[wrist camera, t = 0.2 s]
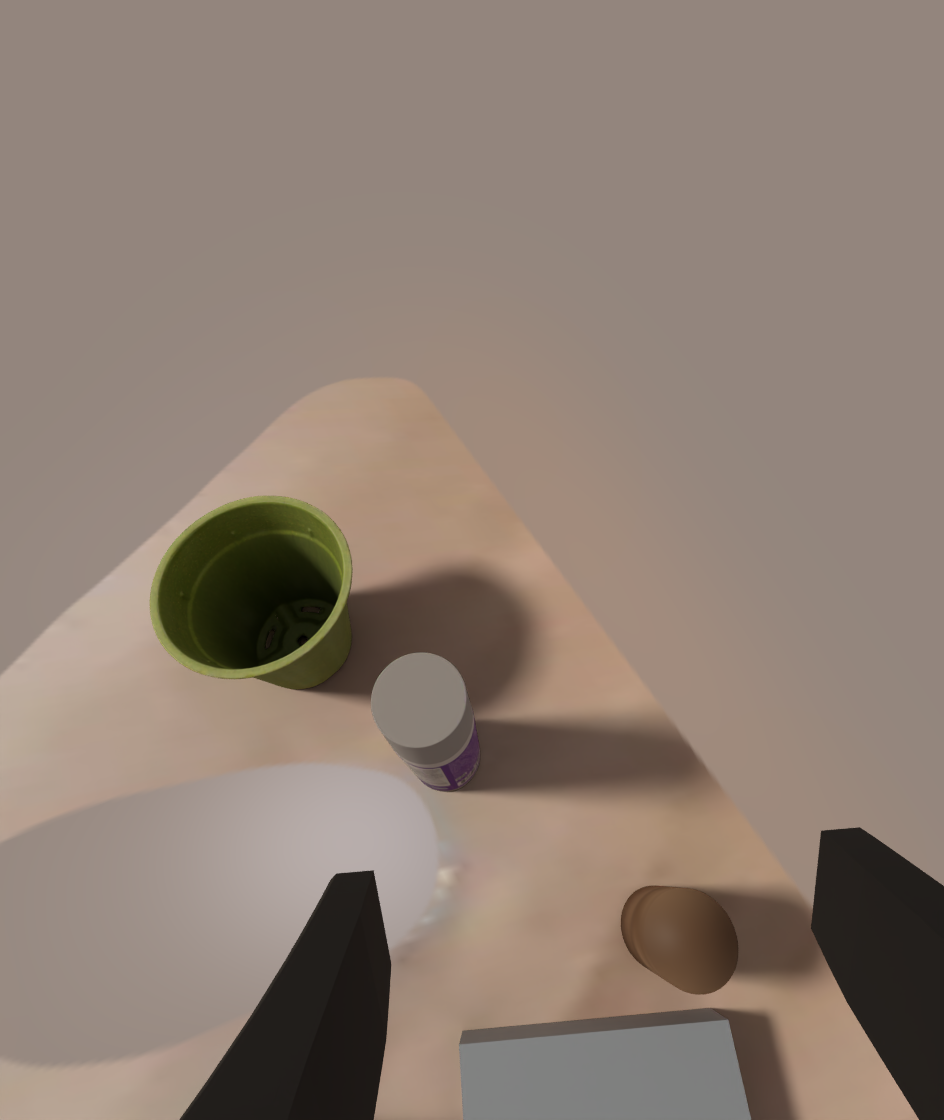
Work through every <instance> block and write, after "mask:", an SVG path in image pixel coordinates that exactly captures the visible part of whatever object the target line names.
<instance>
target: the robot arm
mask: <svg viewBox="0 0 944 1120" xmlns="http://www.w3.org/2000/svg"><path fill="white" fill-rule="evenodd" d="M811 929H812V931H813V933H814V935H815V938H816V940H817V942H818V944H819V946H820V948H821V950H822V952H823V955H824V957H825V959H826V961H827V963H828V965H829V967H830V969H831V971H832V973H833V975H834V977H835V979H836V981H837V983H838V985H839V987H840V989H841V991H842V993H843V995H844V997H845V999H846V1001H847V1003H848V1005H849V1006H850V1008H851V1010H852V1011H853V1013H854V1015H855V1016H856V1018H857V1020H858V1021H859V1023H860V1024H861V1026H862V1028H863V1029H864V1031H865V1033H866V1034H867V1036H868V1038H869V1039H870V1041H871V1042H872V1044H873V1046H874V1047H875V1049H876V1051H877V1052H878V1054H879V1056H880V1057H881V1059H882V1060H883V1062H884V1064H885V1065H886V1067H887V1069H888V1070H889V1072H890V1073H891V1075H892V1077H893V1078H894V1080H895V1081H896V1083H897V1085H898V1086H899V1088H900V1090H901V1091H902V1093H903V1094H904V1096H905V1098H906V1099H907V1101H908V1102H909V1104H910V1106H911V1107H912V1109H913V1110H914V1112H915V1114H916V1115H917V1117H918V1119H919V1120H944V886H943V885H942V884H940V883H939V882H937V881H936V880H934V879H933V878H932V877H930V876H929V875H927V874H926V873H925V872H923V871H922V870H920V869H919V868H918V867H916V866H915V865H913V864H912V863H910V862H909V861H908V860H906V859H905V858H903V857H902V856H901V855H899V854H898V853H896V852H895V851H893V850H892V849H890V848H889V847H888V846H886V845H885V844H883V843H882V842H881V841H879V840H878V839H876V838H875V837H873V836H872V835H870V834H869V833H867V832H866V831H864V830H863V829H861V828H848V829H836V830H825V831H821V839H820V848H819V857H818V867H817V876H816V885H815V895H814V905H813V914H812V924H811ZM390 977H391V960H390V955H389V949H388V944H387V939H386V934H385V928H384V923H383V918H382V913H381V907H380V902H379V897H378V891H377V886H376V881H375V876H374V871H362V872H351V873H339V874H336V875H335V876H334V877H333V878H332V879H331V880H330V882H329V884H328V886H327V888H326V890H325V891H324V893H323V895H322V897H321V899H320V901H319V903H318V904H317V906H316V908H315V910H314V912H313V913H312V915H311V917H310V919H309V920H308V922H307V924H306V926H305V928H304V929H303V931H302V933H301V934H300V936H299V938H298V940H297V942H296V943H295V945H294V946H293V948H292V950H291V952H290V953H289V955H288V957H287V959H286V961H285V962H284V963H283V965H282V967H281V968H280V970H279V972H278V973H277V975H276V976H275V978H274V980H273V981H272V983H271V984H270V986H269V988H268V989H267V991H266V993H265V994H264V996H263V997H262V999H261V1001H260V1002H259V1004H258V1006H257V1007H256V1009H255V1010H254V1012H253V1013H252V1015H251V1016H250V1018H249V1019H248V1021H247V1023H246V1024H245V1026H244V1027H243V1029H242V1030H241V1032H240V1033H239V1035H238V1036H237V1037H236V1039H235V1040H234V1042H233V1043H232V1045H231V1046H230V1048H229V1049H228V1051H227V1052H226V1054H225V1055H224V1057H223V1058H222V1060H221V1061H220V1063H219V1064H218V1066H217V1067H216V1069H215V1070H214V1071H213V1073H212V1074H211V1076H210V1077H209V1079H208V1080H207V1082H206V1083H205V1085H204V1086H203V1088H202V1089H201V1090H200V1092H199V1093H198V1095H197V1096H196V1097H195V1099H194V1100H193V1102H192V1103H191V1104H190V1106H189V1107H188V1109H187V1110H186V1111H185V1113H184V1114H183V1115H182V1117H181V1118H180V1120H374V1114H375V1108H376V1101H377V1095H378V1089H379V1082H380V1076H381V1070H382V1064H383V1057H384V1051H385V1044H386V1035H387V1022H388V1008H389V993H390Z"/></svg>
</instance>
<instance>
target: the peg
mask: <svg viewBox="0 0 944 1120" xmlns="http://www.w3.org/2000/svg"><path fill="white" fill-rule="evenodd" d="M621 931H622V935H623V939H624V942H625V944H626V946H627V948H628V950H629V951H630V953H631V954H632V956H633V957H634V958H635V959H636V960H637V961H638V962H639V963H640V964H641V965H643V966H644V967H646V968H647V969H649V970H650V971H652V972H653V973H655V974H657V975H658V976H660V977H661V978H663V979H664V980H666V981H667V982H669V983H670V984H672V985H673V986H675V987H677V988H678V989H680V990H682V991H685V992H688V993H691V994H709V993H712V992H715V991H717V990H718V989H720V988H722V987H723V986H724V985H725V984H726V983H727V982H728V981H729V979H730V978H731V976H732V975H733V973H734V970H735V968H736V964H737V959H738V941H737V936H736V932H735V929H734V927H733V924H732V922H731V920H730V918H729V916H728V915H727V913H726V912H725V911H724V909H723V908H722V907H721V906H720V905H719V904H718V903H717V902H716V901H715V900H714V899H712V898H711V897H710V896H708V895H706V894H705V893H703V892H700V891H698V890H694V889H688V888H677V887H664V886H646V887H643V888H640V889H638V890H637V891H635V892H634V893H633V894H632V895H631V896H630V897H629V898H628V900H627V901H626V903H625V905H624V908H623V911H622V915H621Z"/></svg>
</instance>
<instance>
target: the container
mask: <svg viewBox="0 0 944 1120" xmlns="http://www.w3.org/2000/svg"><path fill="white" fill-rule="evenodd" d="M371 710H372V715H373V718H374V721H375V723H376V725H377V727H378V728H379V730H380V731H381V732H382V734H383V735H384V737H385V738H386V739H387V741H388V742H389V744H390V745H391V747H392V748H393V750H394V751H395V752H396V754H397V755H398V756H399V757H400V758H401V759H402V760H403V761H404V762H405V764H406V765H407V766H408V767H409V768H410V769H411V770H412V771H413V772H414V774H415V775H416V776H417V777H418V778H419V779H420V780H421V781H422V782H423V783H424V784H425V785H427V786H428V787H430V788H432V789H434V790H437V791H444V792H447V791H454V790H457V789H459V788H461V787H463V786H464V785H466V784H467V783H468V782H469V781H470V780H471V779H472V778H473V776H474V775H475V773H476V771H477V769H478V766H479V762H480V747H479V741H478V736H477V730H476V724H475V719H474V713H473V709H472V706H471V703H470V700H469V696H468V693H467V689H466V686H465V683H464V680H463V678H462V676H461V674H460V672H459V671H458V670H457V668H456V667H455V666H454V665H453V664H452V663H450V662H449V661H448V660H446V659H445V658H443V657H441V656H438V655H436V654H432V653H426V652H418V653H411V654H407V655H404V656H402V657H400V658H398V659H396V660H394V661H393V662H392V663H390V664H389V665H388V666H387V667H386V668H385V669H384V670H383V671H382V672H381V674H380V675H379V677H378V678H377V680H376V682H375V685H374V687H373V691H372V696H371Z"/></svg>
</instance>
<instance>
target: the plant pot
mask: <svg viewBox="0 0 944 1120" xmlns="http://www.w3.org/2000/svg"><path fill="white" fill-rule="evenodd" d="M351 583H352V560H351V554H350V550H349V547H348V544H347V541H346V539H345V537H344V535H343V533H342V532H341V530H340V529H339V527H338V526H337V525H336V524H335V522H334V521H333V520H332V519H331V518H330V517H329V516H327V515H326V514H325V513H324V512H322V511H321V510H319V509H318V508H316V507H314V506H312V505H310V504H308V503H306V502H303V501H300V500H297V499H293V498H289V497H282V496H255V497H249V498H244V499H240V500H237V501H234V502H231V503H228V504H225V505H223V506H221V507H219V508H217V509H215V510H213V511H211V512H209V513H207V514H206V515H204V516H203V517H201V518H200V519H198V520H197V521H195V522H194V523H193V524H191V525H190V526H189V527H188V528H187V529H186V530H185V531H184V532H183V533H182V534H181V535H180V536H179V537H178V538H177V539H176V540H175V541H174V542H173V543H172V545H171V546H170V547H169V549H168V550H167V552H166V553H165V555H164V556H163V558H162V560H161V562H160V564H159V566H158V568H157V571H156V573H155V576H154V579H153V583H152V587H151V593H150V615H151V620H152V625H153V628H154V630H155V633H156V635H157V637H158V639H159V641H160V643H161V644H162V646H163V647H164V648H165V650H166V651H167V652H168V653H169V654H170V655H171V656H172V657H173V658H174V659H175V660H176V661H178V662H179V663H180V664H182V665H183V666H185V667H187V668H189V669H190V670H192V671H194V672H197V673H200V674H203V675H207V676H210V677H216V678H222V679H244V678H251V677H253V678H257V679H260V680H263V681H266V682H269V683H272V684H275V685H278V686H281V687H285V688H289V689H306V688H310V687H314V686H316V685H319V684H321V683H323V682H324V681H325V680H327V679H328V678H329V677H331V676H332V675H333V674H334V673H335V672H336V671H337V670H339V669H340V668H341V666H342V665H343V663H344V662H345V660H346V658H347V656H348V653H349V651H350V647H351V641H352V635H351V626H350V620H349V613H348V606H347V599H348V596H349V593H350V589H351ZM309 606H310V607H319V608H320V610H319V613H315V612H301V611H302V607H309ZM277 617H278V619H277ZM272 629H273V630H275V633H274V635H273V638H272V642H271V644H270V647H269V648H267V649H266V648H265V644H266V639H267V636H268V634H269V631H270V630H272ZM301 636H306V637H307V639H308V641H307V642H306V643H305V644H304V645H300V644H299V643H298V639H299V638H300V637H301Z"/></svg>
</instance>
